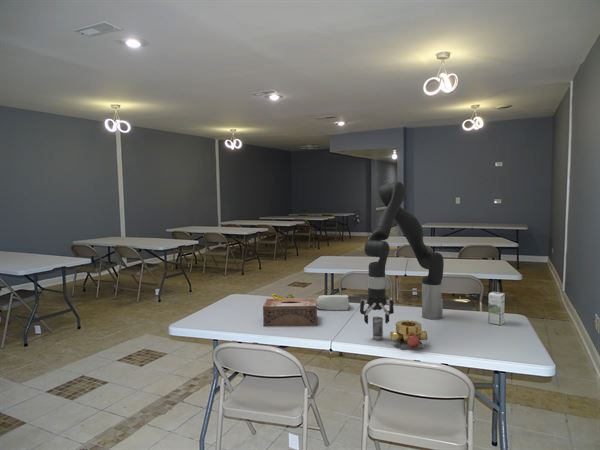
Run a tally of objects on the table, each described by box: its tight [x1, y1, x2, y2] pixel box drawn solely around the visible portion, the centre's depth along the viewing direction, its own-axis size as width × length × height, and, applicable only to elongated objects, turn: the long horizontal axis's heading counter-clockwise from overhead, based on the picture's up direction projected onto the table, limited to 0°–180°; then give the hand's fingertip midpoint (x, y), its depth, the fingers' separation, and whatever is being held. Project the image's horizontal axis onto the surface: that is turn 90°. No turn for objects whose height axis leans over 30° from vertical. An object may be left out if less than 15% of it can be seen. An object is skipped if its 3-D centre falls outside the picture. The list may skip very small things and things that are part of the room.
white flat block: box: [317, 294, 350, 311], centre depth 234 cm, size 8×23×25 cm
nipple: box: [372, 316, 384, 341], centre depth 178 cm, size 4×4×9 cm
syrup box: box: [487, 291, 506, 326], centre depth 195 cm, size 6×6×14 cm
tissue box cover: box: [262, 297, 318, 327], centre depth 205 cm, size 26×14×10 cm, turn 87°
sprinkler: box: [270, 293, 295, 299], centre depth 236 cm, size 22×6×20 cm
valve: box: [389, 319, 428, 351], centre depth 169 cm, size 14×12×9 cm
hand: (376, 323), depth 178 cm, fingers open, 8 cm apart
